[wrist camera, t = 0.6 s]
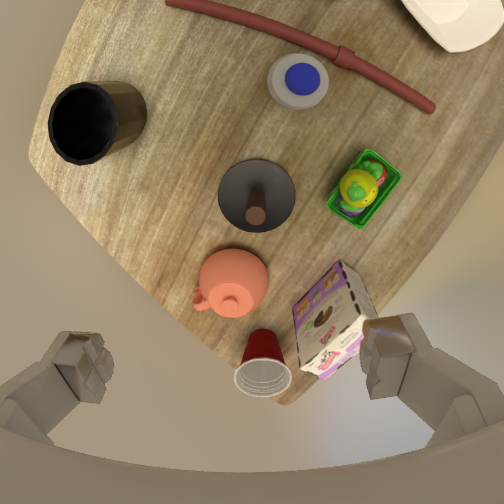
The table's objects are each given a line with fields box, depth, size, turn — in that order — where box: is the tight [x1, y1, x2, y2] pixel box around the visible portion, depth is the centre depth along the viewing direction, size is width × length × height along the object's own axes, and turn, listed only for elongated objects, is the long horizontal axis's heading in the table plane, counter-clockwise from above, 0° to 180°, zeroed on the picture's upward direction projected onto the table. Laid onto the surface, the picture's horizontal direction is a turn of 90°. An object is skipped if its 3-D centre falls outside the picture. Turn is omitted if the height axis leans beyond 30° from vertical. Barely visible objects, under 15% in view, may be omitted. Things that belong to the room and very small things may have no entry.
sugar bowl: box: [192, 249, 269, 318], centre depth 55 cm, size 12×14×10 cm
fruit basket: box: [326, 149, 402, 229], centre depth 45 cm, size 11×9×11 cm
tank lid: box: [218, 159, 295, 233], centre depth 48 cm, size 12×12×9 cm
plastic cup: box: [234, 329, 292, 397], centre depth 62 cm, size 11×11×12 cm
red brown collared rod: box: [165, 0, 436, 114], centre depth 39 cm, size 45×3×3 cm, turn 69°
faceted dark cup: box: [48, 81, 147, 166], centre depth 41 cm, size 12×12×12 cm
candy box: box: [292, 260, 379, 380], centre depth 54 cm, size 14×6×16 cm, turn 144°
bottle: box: [267, 53, 329, 110], centre depth 35 cm, size 7×7×20 cm
